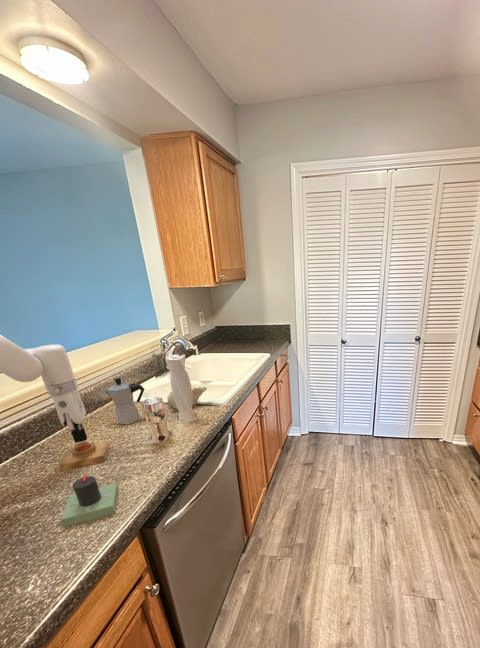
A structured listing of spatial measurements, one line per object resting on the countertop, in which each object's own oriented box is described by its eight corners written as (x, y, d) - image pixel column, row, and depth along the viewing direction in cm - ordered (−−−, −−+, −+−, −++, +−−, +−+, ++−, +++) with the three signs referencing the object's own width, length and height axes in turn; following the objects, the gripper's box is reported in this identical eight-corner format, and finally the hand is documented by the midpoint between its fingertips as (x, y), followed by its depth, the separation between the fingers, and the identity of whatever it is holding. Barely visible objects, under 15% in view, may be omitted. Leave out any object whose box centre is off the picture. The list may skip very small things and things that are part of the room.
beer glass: (169, 443, 112) (160, 403, 107) (148, 445, 111) (138, 405, 106) (173, 433, 119) (165, 395, 113) (153, 435, 118) (144, 398, 112)
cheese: (163, 416, 138) (178, 400, 129) (159, 401, 140) (174, 384, 131) (195, 415, 150) (211, 399, 141) (191, 401, 152) (206, 385, 143)
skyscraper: (174, 419, 130) (159, 351, 119) (192, 413, 135) (179, 347, 124) (182, 425, 125) (168, 354, 114) (200, 419, 129) (188, 350, 118)
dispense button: (75, 452, 102) (74, 447, 101) (78, 447, 105) (76, 442, 104) (88, 450, 103) (87, 445, 102) (90, 444, 106) (89, 440, 106)
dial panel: (63, 528, 76) (59, 519, 75) (72, 502, 85) (69, 494, 84) (115, 513, 80) (112, 505, 79) (119, 490, 89) (116, 482, 88)
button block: (61, 471, 99) (57, 460, 98) (68, 455, 108) (64, 445, 106) (105, 461, 103) (102, 450, 102) (109, 446, 112) (106, 436, 110)
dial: (99, 503, 80) (92, 483, 78) (77, 508, 79) (69, 489, 77) (102, 491, 85) (96, 473, 82) (81, 496, 83) (74, 478, 81)
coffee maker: (108, 427, 126) (95, 383, 120) (115, 417, 134) (103, 376, 128) (149, 421, 129) (138, 379, 123) (153, 413, 137) (143, 372, 130)
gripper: (71, 392, 91) (90, 448, 98) (81, 377, 104) (98, 428, 111) (39, 397, 88) (61, 454, 95) (53, 381, 101) (72, 433, 108)
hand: (81, 440), depth 103 cm, fingers closed
